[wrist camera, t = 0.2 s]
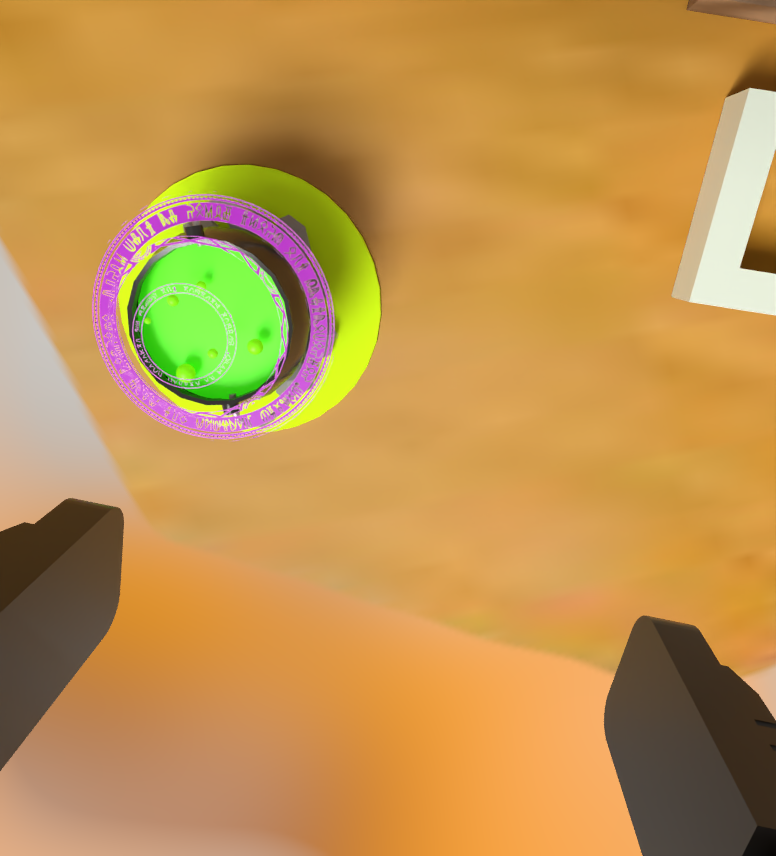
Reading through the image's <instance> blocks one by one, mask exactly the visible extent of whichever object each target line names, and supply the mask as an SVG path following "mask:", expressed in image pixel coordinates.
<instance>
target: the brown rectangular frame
mask: <svg viewBox="0 0 776 856" xmlns="http://www.w3.org/2000/svg"><path fill="white" fill-rule="evenodd" d="M687 10H690V11H696V12H703V13H709V14H715V15H722V16H728V17H734V18H741V19H747V20H753V21H760V22H766V23H772V24H776V0H689V2H688V6H687Z"/></svg>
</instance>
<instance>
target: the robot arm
mask: <svg viewBox="0 0 776 856" xmlns="http://www.w3.org/2000/svg"><path fill="white" fill-rule="evenodd" d="M123 529H124V518H123V513H122V511H121V509H120V508H118V507H113V506H107V505H102V504H98V503H93V502H88V501H83V500H78V499H73V498H69V499H66V500H64V501H63V502H62V503H60V504H59V505H58V506H57V507H55V508H54V509H53V510H52V511H51V512H49V513H48V514H46V515H45V516H44V517H43V518H41V519H40V520H39V521H38V522H36V523H35V524H30V523H25V522H24V523H22V524H19V525H17V526H14V527H11V528H9V529H6V530H4V531H1V532H0V771H1V769H2V768H3V767H4V765H5V764H6V763H7V762H8V760H9V759H10V758H11V757H12V755H13V754H14V753H15V751H16V750H17V749H18V747H19V746H20V745H21V744H22V742H23V741H24V740H25V738H26V737H27V736H28V734H29V733H30V732H31V731H32V729H33V728H34V727H35V726H36V724H37V723H38V722H39V720H40V719H41V718H42V716H43V715H44V714H45V712H46V711H47V710H48V708H49V707H50V706H51V705H52V703H53V702H54V701H55V700H56V698H57V697H58V696H59V694H60V693H61V692H62V691H63V689H64V688H65V686H66V685H67V684H68V683H69V682H70V680H71V679H72V678H73V676H74V675H75V674H76V673H77V671H78V670H79V668H80V667H81V666H82V665H83V663H84V662H85V661H86V660H87V658H88V657H89V656H90V654H91V653H92V652H93V651H94V649H95V648H96V646H97V645H98V644H99V643H100V642H101V640H102V639H103V638H104V636H105V635H106V633H107V632H108V630H109V628H110V626H111V624H112V621H113V619H114V616H115V613H116V610H117V606H118V602H119V596H120V581H121V564H122V547H123ZM604 728H605V736H606V740H607V744H608V747H609V750H610V753H611V757H612V759H613V763H614V766H615V769H616V772H617V776H618V779H619V782H620V785H621V788H622V792H623V795H624V798H625V801H626V804H627V808H628V811H629V814H630V817H631V820H632V823H633V826H634V830H635V833H636V836H637V839H638V842H639V846H640V849H641V852H642V855H643V856H776V720H775V719H774V717H773V716H772V714H771V713H770V711H769V710H768V708H767V707H766V705H765V704H764V702H763V701H762V699H761V698H760V696H759V694H757V693H756V692H755V691H754V690H753V689H752V688H751V687H750V686H749V685H748V684H747V683H746V682H744V681H743V680H742V679H741V678H740V677H739V676H738V675H737V674H736V673H735V672H734V671H732V670H731V669H730V668H729V667H728V666H723V665H720V663H719V661H718V660H717V658H716V657H715V655H714V653H713V652H712V650H711V648H710V647H709V645H708V644H707V642H706V640H705V639H704V637H703V635H702V634H701V632H700V631H699V629H698V628H697V627H695V626H693V625H689V624H684V623H680V622H675V621H670V620H665V619H660V618H655V617H650V616H641V617H640V618H639V619H638V620H637V621H636V623H635V624H634V626H633V629H632V631H631V634H630V637H629V639H628V642H627V645H626V647H625V650H624V653H623V656H622V658H621V661H620V664H619V666H618V669H617V672H616V674H615V677H614V680H613V683H612V685H611V688H610V691H609V693H608V696H607V700H606V706H605V713H604Z"/></svg>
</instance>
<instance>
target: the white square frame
mask: <svg viewBox="0 0 776 856" xmlns="http://www.w3.org/2000/svg"><path fill="white" fill-rule="evenodd" d="M775 150H776V92H773V91H767V90H760V89H754V88H748V89H746V90H743V91H741V92H739V93H736V94H734V95H731V96H729V97H727V98H726V99H725V102H724V106H723V110H722V113H721V117H720V120H719V124H718V128H717V131H716V135H715V139H714V142H713V146H712V150H711V153H710V157H709V161H708V164H707V168H706V172H705V175H704V179H703V182H702V186H701V190H700V193H699V197H698V201H697V204H696V208H695V212H694V215H693V219H692V223H691V226H690V230H689V234H688V237H687V241H686V244H685V248H684V252H683V255H682V259H681V263H680V266H679V270H678V274H677V277H676V281H675V285H674V288H673V292H672V295H671V297H673V298H677V299H680V300H684V301H688V302H693V303H699V304H706V305H712V306H719V307H725V308H732V309H738V310H744V311H751V312H757V313H764V314H770V315H776V274H773V273H767V272H760V271H754V270H748V269H741V268H740V265H741V262H742V259H743V255H744V252H745V249H746V245H747V242H748V239H749V235H750V232H751V229H752V225H753V222H754V219H755V216H756V212H757V209H758V206H759V202H760V199H761V196H762V192H763V189H764V186H765V182H766V179H767V176H768V172H769V169H770V166H771V162H772V159H773V156H774V152H775Z"/></svg>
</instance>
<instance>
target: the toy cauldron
mask: <svg viewBox="0 0 776 856" xmlns="http://www.w3.org/2000/svg"><path fill="white" fill-rule="evenodd" d="M145 207H146V206H145ZM143 208H144V207H143ZM143 208H142V209H143ZM139 211H140V210H139ZM142 214H143V215H142ZM141 215H142V216H141ZM139 216H140V219H139V218H137V217H139ZM137 217H135V218H134V219H133V220H132V221H134V220H135V219H136V218H137V219H138V220H135V223H133V222H132V221H130V222H129V223H128V224H127V225H126V226H125V227H124V228H123V229H122V230H121V231H120V232H119V234H118V235H117V236H116V237H115V239H114V240H113V241H112V243H111V244H110V246H109V248H108V249H107V251H106V253H105V255H104V257H103V259H102V262H103V260H104V258H105V256H106V254H107V252H108V250H109V249H110V247H111V245H112V244H114V243H113V242H114V241H116V244H114V246H113V247H111V248H112V250H111V251H109V252H110V253H109V254H107V255H108V257H107V258H106V261H105V262H104V263H105V264H104V265H102V262H101V264H100V266H99V269H98V273H99V270H100V267H101V265H102V267H103V269H101V271H102V272H101V273H99V274H100V277H99V281H97V277H98V273H97V276H96V280H95V284H94V290H93V302H92V316H93V324H94V314H93V305H94V292H95V285H96V281H97V282H98V283H99V284H98V285H97V286H98V289H96V290H97V293H95V294H96V295H97V297H95V298H96V301H95V302H96V306H95V307H96V309H95V311H96V314H95V315H96V318H95V319H96V320H97V321H96V322H95V323H97V328H98V329H97V330H95V324H94V331H95V335H96V331H98V334H97V335H98V336H99V337H100V338H98V339H99V340H100V341H101V342H100V344H101V345H102V346H101V348H103V352H104V353H105V354H104V356H106V358H105V359H107V360H108V357H107V355H106V352H105V350H104V347H103V344H102V340H101V336H100V332H99V326H98V315H97V300H98V292H99V286H100V281H101V278H102V274H103V271H104V268H105V266H106V263H107V261H108V259H109V257H110V255H111V253H112V252H113V250H114V248H115V247H116V245H117V244H118V243H119V241H120V240H121V239H122V238H123V236H124V235H125V234H126V233H127V232H128V231H129V230H130V229H131V228H132V227H133V226H134V225H135V227H134V229H133V231H132V232H130V234H131V235H130V234H129V235H128V236H127V237H126V238H125V239H124V240H123V241H122V243H121V244H120V245H119V247H118V248H117V250H116V251H115V253H114V255H113V257H112V258H111V261H110V263H109V265H108V267H107V270H106V273H105V276H104V279H103V283H102V288H101V294H100V324H101V331H102V335H103V339H104V343H105V346H106V349H107V351H108V354H109V357H110V359H111V361H112V363H113V365H114V367H115V369H116V370H117V372H118V374H119V375H120V377H121V378H122V379H123V381H124V382H125V384H126V385H127V386H128V387H129V388H130V389H131V387H130V386H131V385H133V384H134V383H133V382H132V380H134V382H135V383H136V385H133V386H132V388H133V387H134V386H136V387H135V388H133V389H131V391H132V392H133V393H134V394H135V395H136V396H137V397H138V398H139V399H140V400H141V401H142V402H143V403H144V404H146V405H147V406H148V407H150V408H151V409H152V410H154V411H155V412H157V413H158V414H160V415H162V416H163V417H165V418H167V419H169V420H171V421H173V422H175V423H178V424H180V425H183V426H186V427H189V428H193V429H197V430H202V431H209V432H235V431H245V432H242V433H236V434H208V433H201V432H196V431H193V430H189V429H186V428H183V427H180V426H177V425H175V424H172V423H170V422H168V421H167V420H164V419H163V418H161V417H159V416H158V415H156V414H155V413H153V412H152V411H150V410H149V409H148V408H146V407H145V406H144V405H143V404H142V403H140V402H139V401H138V400H137V399H136V398H135V397H134V396H133V395H132V394H131V393H130V392H129V390H128V389H127V388H126V387H125V386H124V384H123V383H122V382H121V380H120V379H119V377H118V376H117V374H116V373H115V371H114V370H113V367H112V365H111V364H110V362H109V360H108V362H107V363H109V367H111V368H112V369H111V370H113V372H114V373H113V374H115V375H116V377H117V378H118V381H120V385H122V386H123V388H125V391H127V392H128V393H129V395H131V396H132V397H133V398H134V401H135V400H136V401H137V402H138V403H139V404H140V406H143V407H144V409H146V410H147V411H149V412H150V414H151V413H152V414H153V415H154V416H157V418H160V420H164V423H163V422H161V421H159V420H158V419H156V418H154V417H153V416H151V415H150V414H148V413H147V412H146V411H145V410H143V409H142V408H141V407H140V406H138V404H136V403H135V402H134V401H133V400H132V399H131V398H132V397H131V398H130V397H129V396H128V394H127V393H126V392H125V391H124V390H123V389H122V388H121V386H120V385H119V383H118V382H117V381H116V379H115V378H114V376H113V375H112V373H111V371H110V369H109V368H108V366H107V364H106V361H105V359H104V357H103V355H102V352H101V350H100V346H99V343H98V339H97V335H96V340H97V343H98V346H99V350H100V353H101V355H102V358H103V360H104V362H105V364H106V366H107V368H108V370H109V371H110V373H111V375H112V377H113V378H114V379H115V381H116V383H117V384H118V385H119V387H120V388H121V389H122V390H123V392H124V393H125V394H126V395H127V396H128V397H129V398H130V399H131V400H132V401H133V402H134V403H135V404H136V405H137V406H138V407H139V408H141V409H142V410H143V411H144V412H145V413H147V414H148V415H150V416H151V417H153V418H154V419H156V420H157V421H159V422H161V423H162V424H165V422H167V424H171V426H173V425H174V426H175V427H178V429H180V428H181V429H182V430H186V432H184V431H181V430H178V429H176V428H173V427H171V426H169V425H167V424H165V425H167V426H168V427H171V428H173V429H175V430H178V431H181V432H183V433H186V434H190V433H191V432H193V433H198V434H201V435H203V434H204V435H205V436H206V435H209V436H211V435H213V437H204V436H199V435H194V434H190V435H194V436H199V437H204V438H213V439H232V438H241V437H246V436H251V435H254V434H258V433H261V432H268V433H269V432H273V431H278V430H282V429H287V428H292V427H296V426H299V425H301V424H303V423H306V422H308V421H310V420H312V419H315V418H317V417H319V416H320V415H322V414H323V413H325V412H326V411H328V410H329V409H330V408H332V407H333V406H335V405H336V404H338V403H339V402H340V401H341V400H342V399H343V398H344V397H345V396H346V394H347V393H348V392H349V391H350V390H351V389H352V388H353V387H354V386H355V385H356V383H357V382H358V380H359V378H360V377H361V375H362V374H363V372H364V370H365V369H366V367H367V366H368V364H369V361H370V358H371V356H372V353H373V350H374V348H375V345H376V342H377V338H378V332H379V325H380V319H381V299H380V286H379V282H378V278H377V273H376V269H375V265H374V261H373V259H372V257H371V255H370V252H369V250H368V248H367V246H366V243H365V241H364V239H363V237H362V236H361V234H360V233H359V231H358V230H357V228H356V227H355V225H354V224H353V223H352V221H351V220H350V218H349V217H348V215H347V214H346V213H345V212H344V211H343V210H342V209H341V208H340V207H339V206H338V205H337V204H336V203H334V202H333V201H332V200H331V199H330V198H329V197H328V196H327V195H326V194H325V193H323V192H321V191H320V190H318V189H317V188H315V187H314V186H312V185H311V184H309V183H308V182H306V181H304V180H303V179H300V178H298V177H295V176H293V175H290V174H288V173H285V172H283V171H280V170H277V169H272V168H267V167H261V166H255V165H228V166H220V167H216V168H212V169H208V170H205V171H201V172H197V173H195V174H193V175H191V176H189V177H187V178H185V179H183V180H181V181H179V182H177V183H175V184H173V185H172V186H171V187H169V188H168V189H167V190H166V191H165V192H163V193H162V194H161V195H160V196H159V197H157V198H156V199H155V200H154V201H153V202H152V203H151V204H150V206H149V207H148V208H147V209H146V211H144V212H142V213H141V214H139V215H138V216H137ZM125 222H126V221H125ZM125 222H124V223H125ZM124 223H123V224H124ZM130 223H132V225H129V224H130ZM123 224H122V225H123ZM128 225H129V228H127V226H128ZM125 228H126V229H127V230H126V231H124V229H125ZM122 231H123V232H124V233H123V234H121V237H118V236H119V235H120V233H121V232H122ZM117 237H118V238H119V240H118V241H117V240H116V238H117ZM127 238H128V240H127ZM109 241H110V240H109ZM109 241H108V242H109ZM125 241H126V242H127V243H126V242H125ZM107 244H108V243H107ZM123 244H124V245H125V246H124V245H123ZM116 253H118V254H120V255H121V256H123V258H122V259H121V258H120V257H119V256H118V255H117V254H116ZM114 258H117V259H119V260H121V261H122V262H121V263H120V262H118V261H117V260H115V259H114ZM111 264H114V265H116V266H118V267H119V268H120V271H118V270H119V268H118V267H116V266H114V265H112V267H114V268H115V269H118V270H115V269H113V268H112V267H111V266H110V265H111ZM108 271H114V272H115V275H116V276H118V277H116V276H114V279H116V280H114V279H112V277H113V274H114V273H113V272H109V273H108V275H106V274H107V272H108ZM106 279H108V280H110V281H113V282H115V283H113V282H110V281H107V283H109V284H112V285H113V286H112V285H109V284H107V283H105V282H106ZM117 280H118V281H117ZM114 285H115V286H114ZM103 290H109V291H105V292H107V293H110V294H107V293H104V294H107V295H110V296H112V297H114V298H112V297H109V296H107V295H104V294H102V292H103ZM110 291H111V292H110ZM112 291H115V292H112ZM114 293H115V295H111V294H114ZM117 296H118V299H119V305H120V312H121V318H122V324H123V327H124V330H125V332H126V335H127V338H128V341H129V344H130V347H131V349H132V351H133V352H134V354H135V356H136V358H137V360H138V361H139V363H140V365H141V367H142V368H143V370H144V371H145V373H146V374H147V375H148V376H149V378H150V379H151V380H152V381H153V382H154V384H155V385H156V386H157V387H158V388H159V390H160V391H162V392H163V393H164V394H165V395H166V396H167V397H169V398H170V399H171V400H172V401H173V402H174V403H176V404H177V405H178V407H180V408H178V407H176V406H173V405H172V404H173V403H172V402H171V403H172V404H170V403H168V402H167V401H165V400H163V399H162V398H161V397H159V396H158V395H157V394H155V393H154V392H153V391H152V390H151V389H150V388H148V386H147V385H146V384H145V383H144V382H143V381H142V380H141V379H140V378H139V376H138V375H137V374H136V372H135V371H134V369H133V368H132V366H131V365H130V363H129V361H128V359H127V357H126V355H125V353H124V350H123V348H122V345H121V343H120V339H119V335H118V330H117V323H116V300H117ZM111 299H113V300H112V302H111ZM105 314H106V315H107V316H105V317H103V316H104V315H105ZM111 315H113V316H112V317H111ZM108 316H109V319H108ZM102 317H103V318H104V319H105V320H107V321H105V320H104V319H102ZM112 319H113V321H112ZM109 322H111V325H109V324H108V323H109ZM106 323H107V324H106ZM104 324H106V325H105V326H107V327H106V328H107V329H108V330H107V329H105V326H104ZM108 325H109V326H108ZM118 325H119V322H118ZM108 327H111V328H113V330H109V329H111V328H108ZM115 329H116V330H115ZM119 331H120V330H119ZM107 332H108V334H107V335H106V336H107V337H109V339H108V338H106V337H105V334H106V333H107ZM109 332H110V333H111V334H112V335H113V336H112V337H111V334H109ZM114 336H115V337H114ZM110 337H111V339H110ZM116 337H117V338H116ZM111 340H112V342H111ZM121 340H122V338H121ZM108 341H110V342H108ZM107 342H108V347H107ZM114 342H118V343H114ZM122 343H123V341H122ZM116 345H119V346H116ZM114 346H116V347H114ZM123 346H124V344H123ZM119 347H120V348H119ZM115 348H118V349H115ZM124 349H125V347H124ZM112 350H113V351H112ZM116 350H119V351H116ZM120 350H121V352H120ZM111 351H112V352H113V353H112V354H114V356H112V355H111ZM125 351H126V350H125ZM118 352H120V353H119V354H120V355H119V354H118ZM122 353H123V354H122ZM126 353H127V352H126ZM115 354H116V355H118V356H116V355H115ZM121 354H122V355H121ZM127 355H128V354H127ZM122 356H123V358H122ZM117 358H119V359H121V360H119V359H117ZM128 358H129V356H128ZM129 359H130V358H129ZM115 360H116V363H118V364H116V363H114V362H115ZM124 360H126V361H124ZM120 361H121V364H120ZM130 361H131V360H130ZM126 363H128V364H129V366H130V368H131V369H130V368H128V365H126ZM131 363H132V362H131ZM132 365H133V364H132ZM123 366H124V367H123ZM134 368H135V367H134ZM120 369H121V371H122V372H124V371H125V372H124V373H122V372H121V373H122V374H120V372H119V370H120ZM129 369H130V370H129ZM123 370H124V371H123ZM126 370H128V371H126ZM136 371H137V370H136ZM137 372H138V371H137ZM138 374H139V373H138ZM139 375H140V374H139ZM140 376H141V375H140ZM141 377H142V376H141ZM136 378H138V379H136ZM135 379H136V380H135ZM142 379H143V378H142ZM138 380H139V382H138ZM143 380H144V379H143ZM144 381H145V380H144ZM130 382H132V383H131V384H130V386H129V385H128V384H127V383H130ZM143 385H144V386H143ZM137 387H140V389H139V388H138V389H137ZM150 387H151V386H150ZM146 388H147V389H148V390H147V389H146ZM151 388H152V387H151ZM136 389H137V390H136ZM152 389H153V388H152ZM143 390H144V391H143ZM153 390H154V389H153ZM136 391H137V394H138V395H137V394H136ZM154 391H155V390H154ZM155 392H156V391H155ZM146 393H147V394H146ZM156 393H157V392H156ZM145 394H146V395H145ZM150 394H151V395H150ZM148 395H149V396H148ZM143 396H145V397H144V398H143ZM147 396H148V397H147ZM153 396H154V398H153ZM160 396H161V395H160ZM142 398H143V399H145V398H147V399H146V400H143V399H142ZM163 398H164V397H163ZM151 399H152V400H151ZM157 400H159V402H156V401H157ZM166 400H167V399H166ZM149 401H150V404H151V402H152V403H154V404H156V405H155V406H153V405H154V404H152V406H151V405H149ZM168 401H169V400H168ZM169 402H170V401H169ZM174 405H175V404H174ZM168 407H172V408H171V409H170V410H169V409H168ZM181 408H182V409H183V410H182V409H181ZM174 409H175V412H174ZM164 410H165V411H167V410H168V411H169V413H170V414H168V415H167V413H166V412H165V411H164ZM184 410H186V411H184ZM168 411H167V412H168ZM187 411H188V412H187ZM165 413H166V415H167V416H165ZM174 413H175V416H174V418H173V415H174ZM177 414H178V416H177ZM176 416H177V419H176ZM182 416H185V418H186V420H187V422H185V421H186V420H185V418H184V417H183V418H181V417H182ZM172 418H173V419H174V420H175V419H176V421H174V420H172ZM180 418H181V420H180ZM196 418H198V422H199V425H200V423H201V421H202V420H204V423H203V427H202V428H197V426H198V422H197V426H196ZM181 421H182V422H185V423H183V424H182V423H181ZM205 421H206V426H207V423H208V422H210V424H209V425H208V427H207V428H206V427H205ZM211 423H212V430H211ZM213 424H214V429H215V425H216V430H217V428H218V426H220V429H219V431H214V429H213ZM201 426H202V423H201ZM201 426H200V427H201ZM198 427H199V426H198ZM205 428H206V429H205ZM224 428H225V430H226V428H227V431H224ZM231 429H232V430H233V429H234V430H233V431H231ZM187 431H190V433H187ZM252 432H255V433H254V434H250V435H245V434H249V433H252ZM256 432H257V433H256ZM241 434H244V436H241ZM265 434H266V433H265ZM234 435H236V436H237V435H240V437H234ZM263 435H264V434H263ZM214 436H217V437H218V436H221V437H222V436H225V437H226V436H228V437H230V436H232V437H231V438H214ZM260 436H261V435H260ZM256 437H259V436H256ZM253 438H255V437H253ZM249 439H250V438H249ZM237 441H239V440H237Z"/></svg>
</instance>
